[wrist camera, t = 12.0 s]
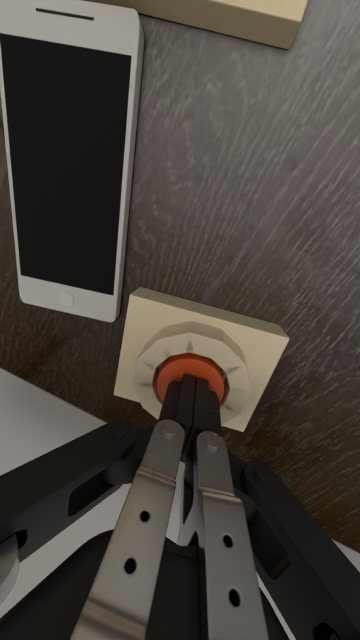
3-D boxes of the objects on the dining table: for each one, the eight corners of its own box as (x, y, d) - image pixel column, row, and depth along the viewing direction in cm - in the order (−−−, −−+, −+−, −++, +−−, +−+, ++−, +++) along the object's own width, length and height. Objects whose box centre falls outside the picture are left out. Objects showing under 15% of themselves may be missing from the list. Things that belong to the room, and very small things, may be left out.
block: (123, 377, 18) (102, 413, 15) (139, 286, 15) (118, 302, 12) (239, 410, 18) (247, 455, 14) (279, 324, 15) (302, 353, 11)
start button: (156, 386, 15) (150, 404, 14) (169, 337, 14) (164, 351, 12) (212, 402, 15) (212, 422, 14) (230, 354, 14) (234, 370, 12)
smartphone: (28, 298, 17) (18, 302, 16) (5, 2, 11) (-13, -18, 10) (119, 319, 16) (114, 324, 15) (146, 26, 11) (140, 7, 10)
